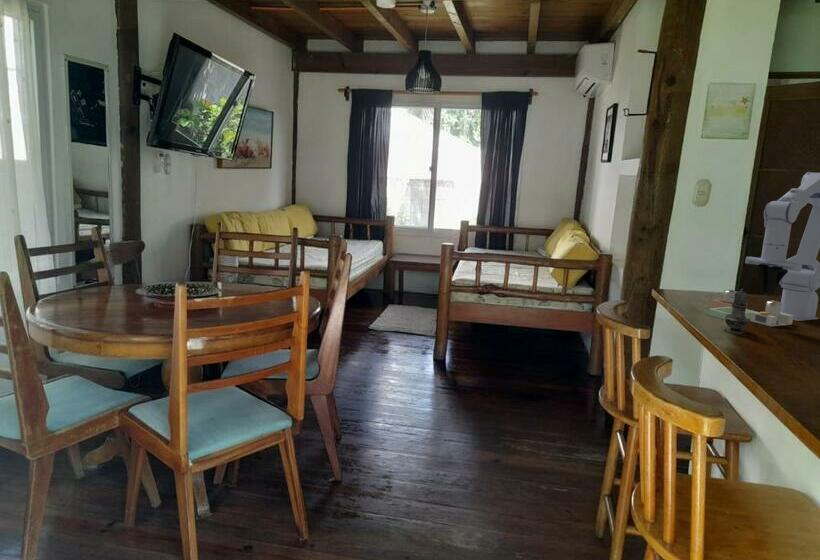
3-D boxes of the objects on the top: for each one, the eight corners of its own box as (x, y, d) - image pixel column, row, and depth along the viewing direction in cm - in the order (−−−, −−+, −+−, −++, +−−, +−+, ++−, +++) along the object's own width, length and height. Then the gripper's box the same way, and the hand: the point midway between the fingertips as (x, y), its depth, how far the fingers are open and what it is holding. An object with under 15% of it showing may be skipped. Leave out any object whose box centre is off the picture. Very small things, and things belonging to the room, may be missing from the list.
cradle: (771, 320, 156) (773, 308, 155) (791, 325, 150) (793, 313, 150) (749, 322, 152) (751, 310, 152) (769, 327, 147) (771, 315, 146)
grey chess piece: (752, 335, 138) (759, 291, 136) (727, 333, 139) (734, 289, 137) (742, 329, 144) (749, 286, 141) (719, 328, 145) (725, 285, 142)
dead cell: (727, 308, 168) (729, 289, 167) (737, 310, 165) (740, 291, 164) (718, 308, 167) (721, 289, 166) (729, 311, 163) (732, 291, 162)
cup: (725, 308, 170) (727, 299, 170) (745, 313, 164) (747, 303, 163) (710, 309, 168) (712, 300, 167) (730, 314, 161) (731, 304, 161)
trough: (734, 313, 163) (735, 306, 162) (756, 319, 156) (757, 311, 156) (706, 315, 158) (707, 308, 158) (727, 321, 152) (728, 314, 152)
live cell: (769, 320, 154) (772, 299, 152) (781, 323, 150) (785, 302, 149) (760, 321, 152) (764, 300, 151) (772, 324, 149) (776, 302, 148)
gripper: (740, 241, 151) (733, 287, 154) (792, 248, 138) (784, 298, 140) (757, 241, 154) (750, 287, 156) (810, 247, 140) (801, 297, 143)
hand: (767, 292), depth 148 cm, fingers closed
